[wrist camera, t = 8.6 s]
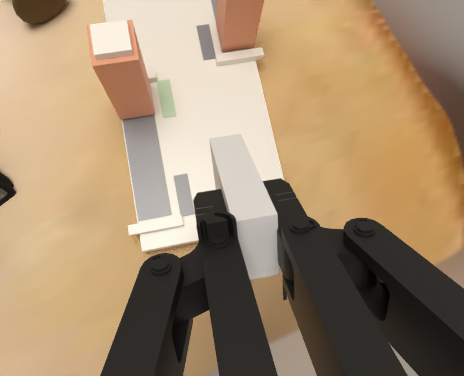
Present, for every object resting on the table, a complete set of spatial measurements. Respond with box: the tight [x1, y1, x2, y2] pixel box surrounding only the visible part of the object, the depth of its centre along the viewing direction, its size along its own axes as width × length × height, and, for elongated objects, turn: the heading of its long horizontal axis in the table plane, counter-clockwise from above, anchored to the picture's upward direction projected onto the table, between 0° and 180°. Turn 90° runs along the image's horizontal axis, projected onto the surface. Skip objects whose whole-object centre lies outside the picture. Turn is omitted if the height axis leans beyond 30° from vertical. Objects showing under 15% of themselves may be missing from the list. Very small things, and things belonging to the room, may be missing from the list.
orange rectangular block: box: [216, 0, 264, 52], centre depth 32 cm, size 3×3×10 cm
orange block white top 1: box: [87, 20, 155, 120], centre depth 30 cm, size 3×3×10 cm
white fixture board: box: [103, 0, 284, 253], centre depth 37 cm, size 14×30×3 cm, turn 12°
